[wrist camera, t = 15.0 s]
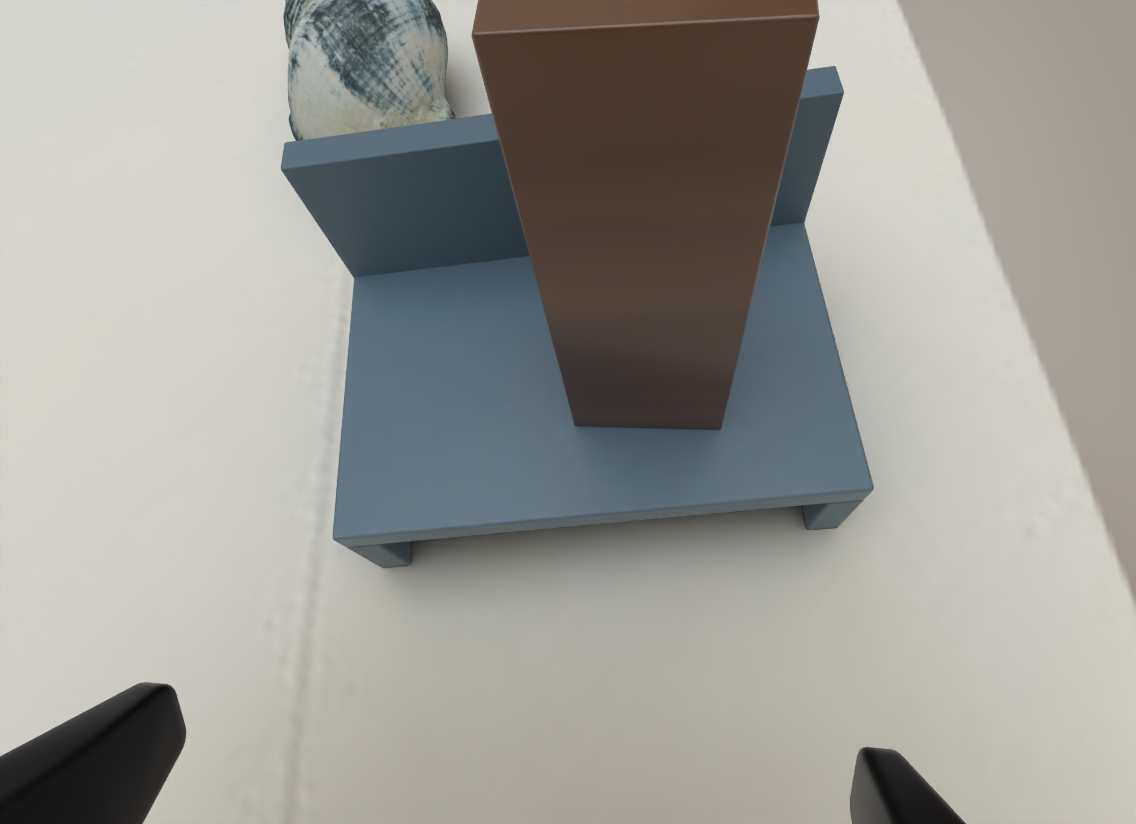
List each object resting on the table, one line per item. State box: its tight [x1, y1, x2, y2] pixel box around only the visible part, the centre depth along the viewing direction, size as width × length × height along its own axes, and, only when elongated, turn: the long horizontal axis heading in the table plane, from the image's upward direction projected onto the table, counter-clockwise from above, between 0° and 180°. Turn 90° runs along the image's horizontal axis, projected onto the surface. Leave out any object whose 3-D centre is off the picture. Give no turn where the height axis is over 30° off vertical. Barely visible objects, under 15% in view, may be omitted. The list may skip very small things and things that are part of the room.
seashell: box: [284, 0, 455, 141], centre depth 29 cm, size 6×8×12 cm
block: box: [472, 0, 819, 430], centre depth 15 cm, size 4×4×12 cm
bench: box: [281, 66, 874, 568], centre depth 20 cm, size 10×15×9 cm, turn 94°
